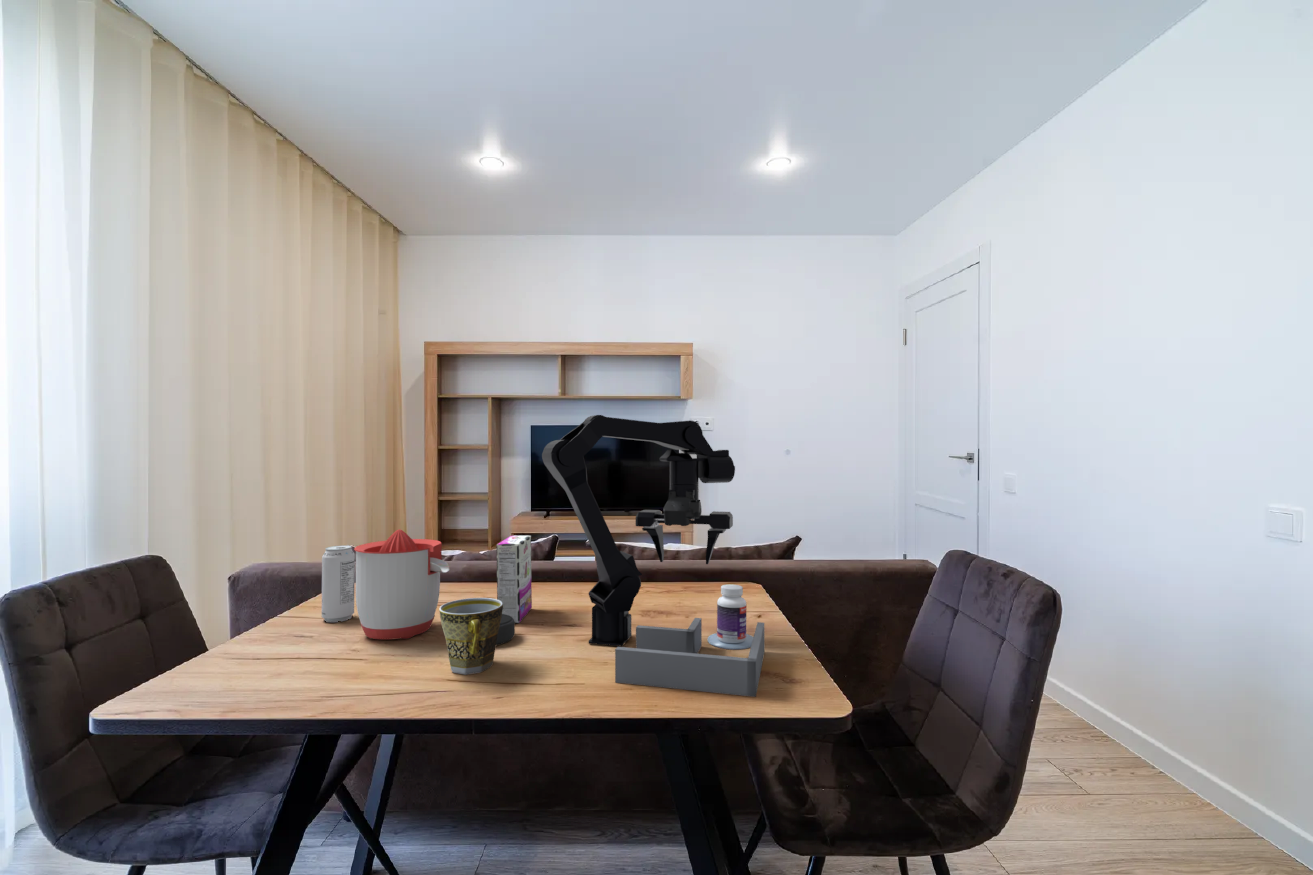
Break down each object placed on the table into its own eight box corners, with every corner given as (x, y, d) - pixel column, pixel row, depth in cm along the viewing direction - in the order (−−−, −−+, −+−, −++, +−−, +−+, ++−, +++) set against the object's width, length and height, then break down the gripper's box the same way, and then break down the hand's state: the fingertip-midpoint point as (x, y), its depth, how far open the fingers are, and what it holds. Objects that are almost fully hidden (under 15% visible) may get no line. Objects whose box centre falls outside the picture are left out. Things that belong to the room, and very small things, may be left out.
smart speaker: (474, 632, 113) (475, 612, 113) (520, 633, 112) (520, 612, 112) (457, 648, 104) (458, 626, 104) (506, 648, 103) (506, 626, 103)
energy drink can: (334, 614, 125) (335, 544, 125) (360, 615, 124) (361, 545, 124) (314, 622, 119) (315, 549, 119) (341, 623, 118) (342, 550, 118)
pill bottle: (745, 645, 104) (745, 590, 104) (715, 643, 105) (715, 589, 105) (747, 635, 109) (747, 583, 109) (718, 633, 110) (718, 582, 110)
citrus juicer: (430, 645, 105) (431, 535, 105) (335, 645, 105) (336, 535, 105) (461, 620, 120) (461, 524, 121) (379, 619, 121) (379, 523, 121)
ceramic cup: (437, 660, 97) (437, 601, 97) (498, 652, 101) (498, 595, 101) (441, 690, 85) (441, 622, 85) (510, 679, 89) (510, 614, 89)
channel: (615, 682, 88) (615, 649, 88) (648, 641, 107) (648, 614, 107) (755, 696, 83) (755, 661, 83) (764, 651, 101) (764, 622, 101)
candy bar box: (509, 608, 129) (510, 535, 129) (532, 608, 129) (532, 535, 129) (495, 623, 118) (495, 543, 118) (519, 623, 118) (519, 543, 118)
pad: (703, 647, 103) (703, 645, 103) (711, 631, 112) (711, 630, 112) (754, 651, 101) (754, 649, 101) (758, 635, 110) (758, 633, 110)
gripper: (627, 486, 109) (627, 568, 109) (725, 487, 105) (726, 573, 104) (643, 482, 120) (643, 557, 120) (732, 483, 115) (733, 562, 115)
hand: (684, 562), depth 114 cm, fingers open, 9 cm apart
